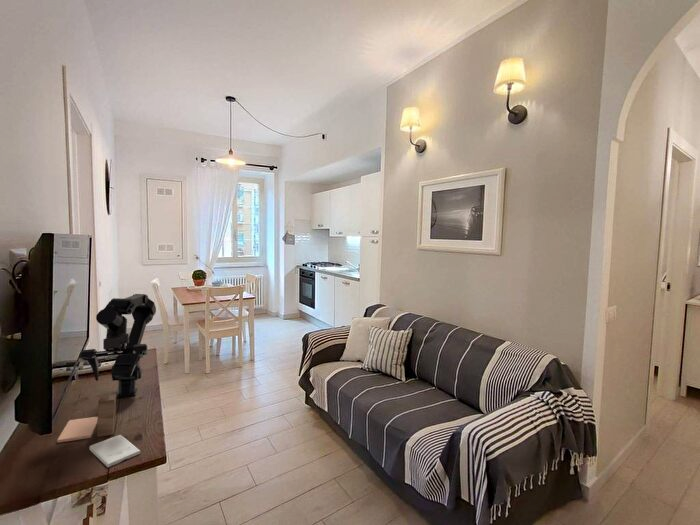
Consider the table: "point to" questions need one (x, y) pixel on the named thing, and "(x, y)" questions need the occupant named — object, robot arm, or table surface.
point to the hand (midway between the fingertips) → (113, 378)
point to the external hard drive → (114, 450)
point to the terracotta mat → (78, 429)
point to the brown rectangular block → (106, 415)
